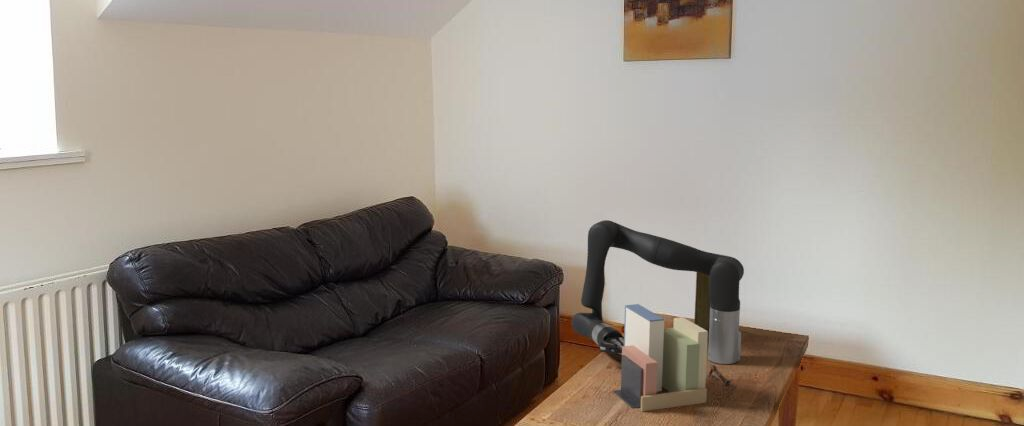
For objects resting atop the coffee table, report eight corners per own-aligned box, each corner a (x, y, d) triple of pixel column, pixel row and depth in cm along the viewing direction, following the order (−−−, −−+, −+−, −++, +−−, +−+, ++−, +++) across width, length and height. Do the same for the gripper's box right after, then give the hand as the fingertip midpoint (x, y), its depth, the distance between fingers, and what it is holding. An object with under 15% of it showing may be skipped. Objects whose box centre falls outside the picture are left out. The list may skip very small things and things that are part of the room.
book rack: (680, 381, 256) (682, 317, 253) (709, 402, 241) (712, 333, 237) (616, 389, 250) (618, 323, 246) (642, 411, 234) (644, 341, 231)
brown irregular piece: (708, 373, 261) (713, 362, 258) (725, 391, 255) (731, 379, 253) (704, 374, 260) (709, 363, 258) (721, 392, 254) (726, 381, 252)
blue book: (636, 373, 263) (638, 304, 259) (661, 392, 248) (664, 319, 244) (622, 374, 261) (624, 305, 258) (647, 393, 246) (649, 320, 243)
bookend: (623, 390, 249) (624, 354, 247) (642, 406, 237) (643, 368, 235) (613, 392, 248) (614, 355, 246) (631, 408, 236) (632, 370, 234)
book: (694, 325, 310) (696, 258, 306) (709, 326, 309) (712, 259, 305) (694, 339, 294) (697, 269, 290) (710, 341, 293) (713, 270, 289)
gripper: (588, 328, 275) (610, 344, 258) (626, 324, 279) (650, 340, 262) (588, 350, 276) (610, 368, 260) (625, 346, 280) (649, 364, 264)
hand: (630, 354), depth 261 cm, fingers closed
